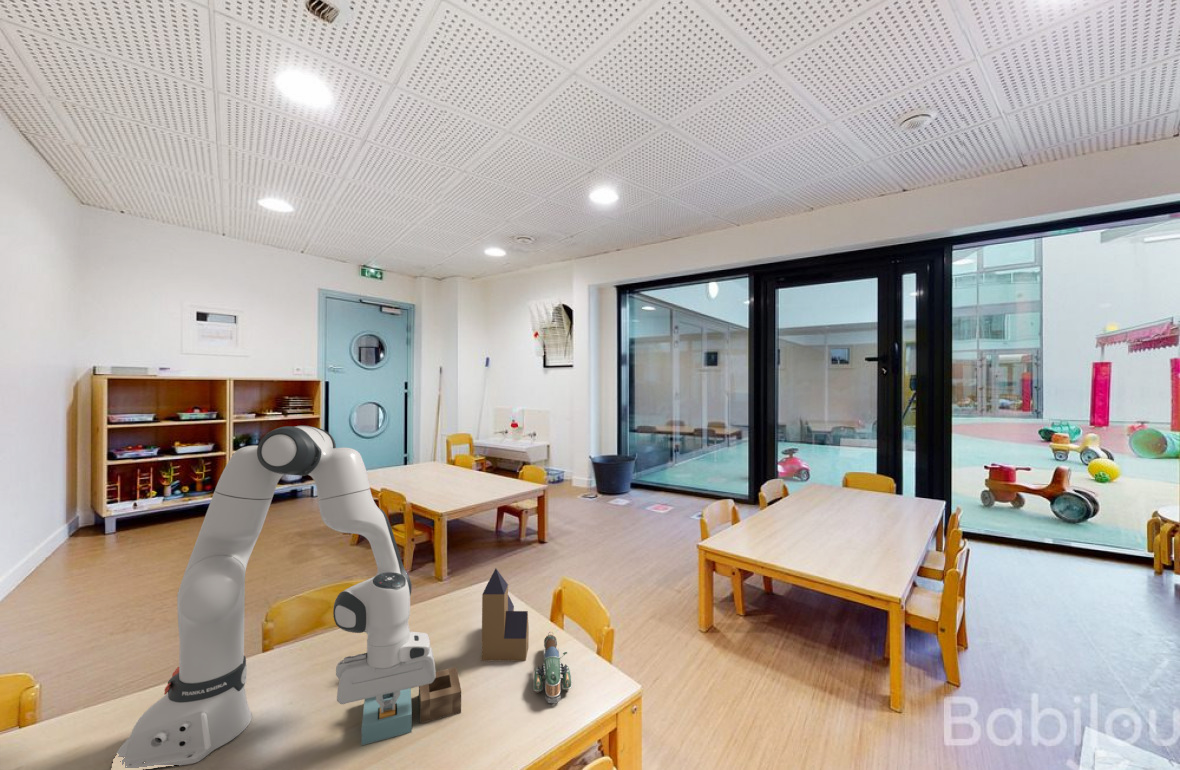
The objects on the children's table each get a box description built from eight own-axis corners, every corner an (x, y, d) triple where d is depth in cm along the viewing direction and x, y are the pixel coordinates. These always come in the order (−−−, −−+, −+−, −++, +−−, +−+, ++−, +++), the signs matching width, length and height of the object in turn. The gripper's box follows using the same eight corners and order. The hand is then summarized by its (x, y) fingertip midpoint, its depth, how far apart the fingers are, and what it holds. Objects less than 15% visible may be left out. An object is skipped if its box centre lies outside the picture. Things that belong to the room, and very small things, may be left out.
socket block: (361, 745, 96) (361, 726, 96) (365, 703, 109) (366, 686, 109) (411, 732, 100) (411, 714, 100) (410, 692, 113) (410, 676, 113)
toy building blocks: (481, 660, 127) (482, 572, 127) (494, 625, 146) (495, 548, 146) (525, 660, 127) (526, 572, 127) (533, 625, 146) (533, 548, 146)
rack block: (420, 723, 103) (420, 701, 103) (418, 695, 112) (419, 675, 112) (461, 712, 106) (461, 691, 106) (456, 686, 116) (456, 667, 116)
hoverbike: (533, 708, 108) (533, 674, 108) (533, 648, 133) (534, 620, 133) (572, 705, 109) (573, 671, 109) (565, 647, 134) (566, 619, 134)
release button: (379, 730, 99) (379, 717, 99) (379, 721, 102) (379, 707, 102) (395, 726, 100) (395, 713, 100) (395, 717, 103) (395, 704, 103)
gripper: (334, 667, 94) (333, 733, 94) (436, 646, 102) (436, 707, 102) (338, 651, 100) (337, 713, 100) (434, 632, 108) (434, 689, 108)
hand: (387, 710), depth 101 cm, fingers closed, pressing on release button
